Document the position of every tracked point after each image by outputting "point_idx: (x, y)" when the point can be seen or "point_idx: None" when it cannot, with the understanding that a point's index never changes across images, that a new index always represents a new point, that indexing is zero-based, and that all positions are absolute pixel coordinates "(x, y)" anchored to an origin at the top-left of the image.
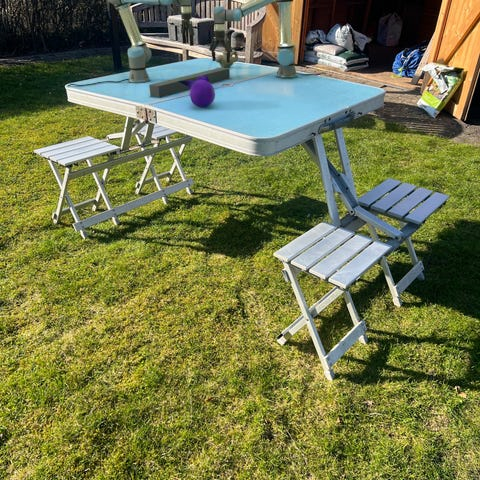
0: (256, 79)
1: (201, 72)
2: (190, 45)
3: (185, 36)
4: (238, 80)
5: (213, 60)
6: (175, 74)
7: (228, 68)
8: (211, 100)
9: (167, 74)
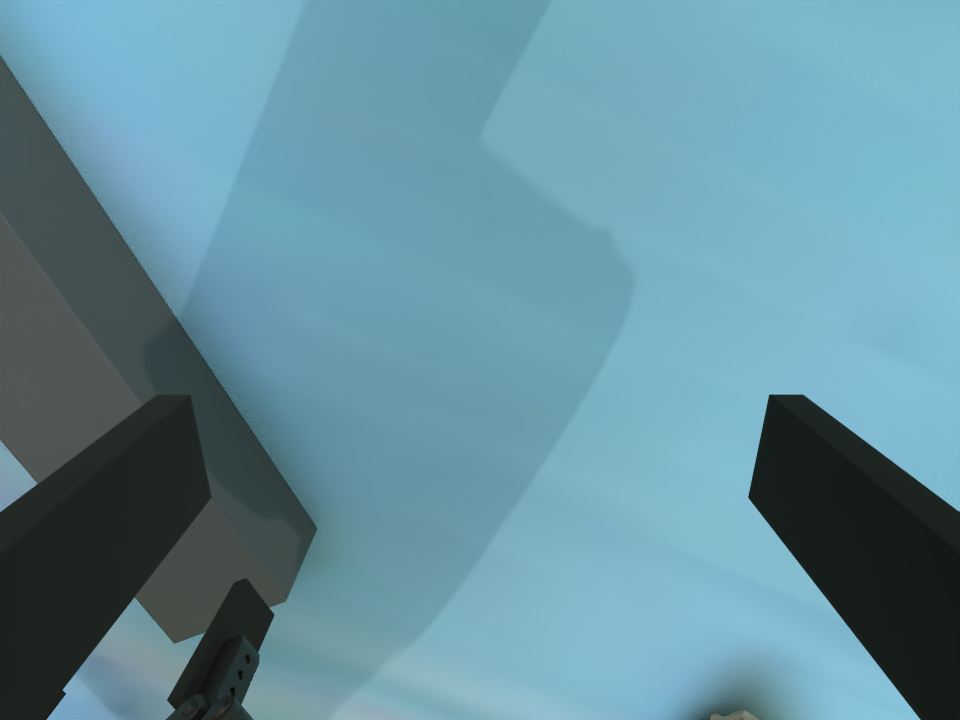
0: (89, 707)
1: (27, 276)
2: (148, 404)
3: (907, 669)
4: None
5: (231, 593)
6: (809, 191)
7: (180, 637)
8: None
9: (894, 93)
